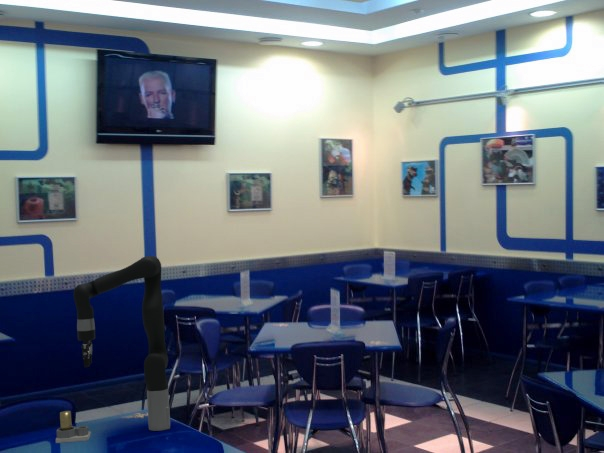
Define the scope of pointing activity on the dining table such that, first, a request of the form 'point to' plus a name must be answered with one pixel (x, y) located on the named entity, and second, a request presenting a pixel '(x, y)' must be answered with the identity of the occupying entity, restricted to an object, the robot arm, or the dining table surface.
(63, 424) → the brass cylinder
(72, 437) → the grey mounting plate
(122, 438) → the dining table surface
